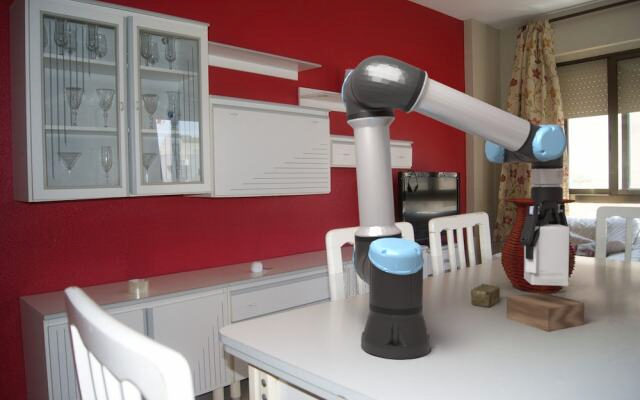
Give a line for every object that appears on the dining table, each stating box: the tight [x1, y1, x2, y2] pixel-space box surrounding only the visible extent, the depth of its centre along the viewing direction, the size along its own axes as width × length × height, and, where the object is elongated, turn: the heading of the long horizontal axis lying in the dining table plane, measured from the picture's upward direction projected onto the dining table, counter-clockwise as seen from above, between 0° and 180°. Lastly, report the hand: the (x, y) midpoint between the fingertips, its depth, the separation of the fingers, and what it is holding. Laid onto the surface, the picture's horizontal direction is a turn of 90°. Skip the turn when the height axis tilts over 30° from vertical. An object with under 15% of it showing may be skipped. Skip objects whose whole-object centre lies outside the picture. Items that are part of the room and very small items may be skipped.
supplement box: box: [524, 224, 570, 287], centre depth 128 cm, size 9×9×15 cm
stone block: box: [470, 283, 501, 308], centre depth 148 cm, size 6×12×5 cm, turn 145°
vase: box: [500, 197, 577, 294], centre depth 166 cm, size 23×24×30 cm
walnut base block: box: [506, 292, 585, 333], centre depth 129 cm, size 13×13×6 cm
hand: (545, 269), depth 128 cm, fingers closed on supplement box, 12 cm apart
